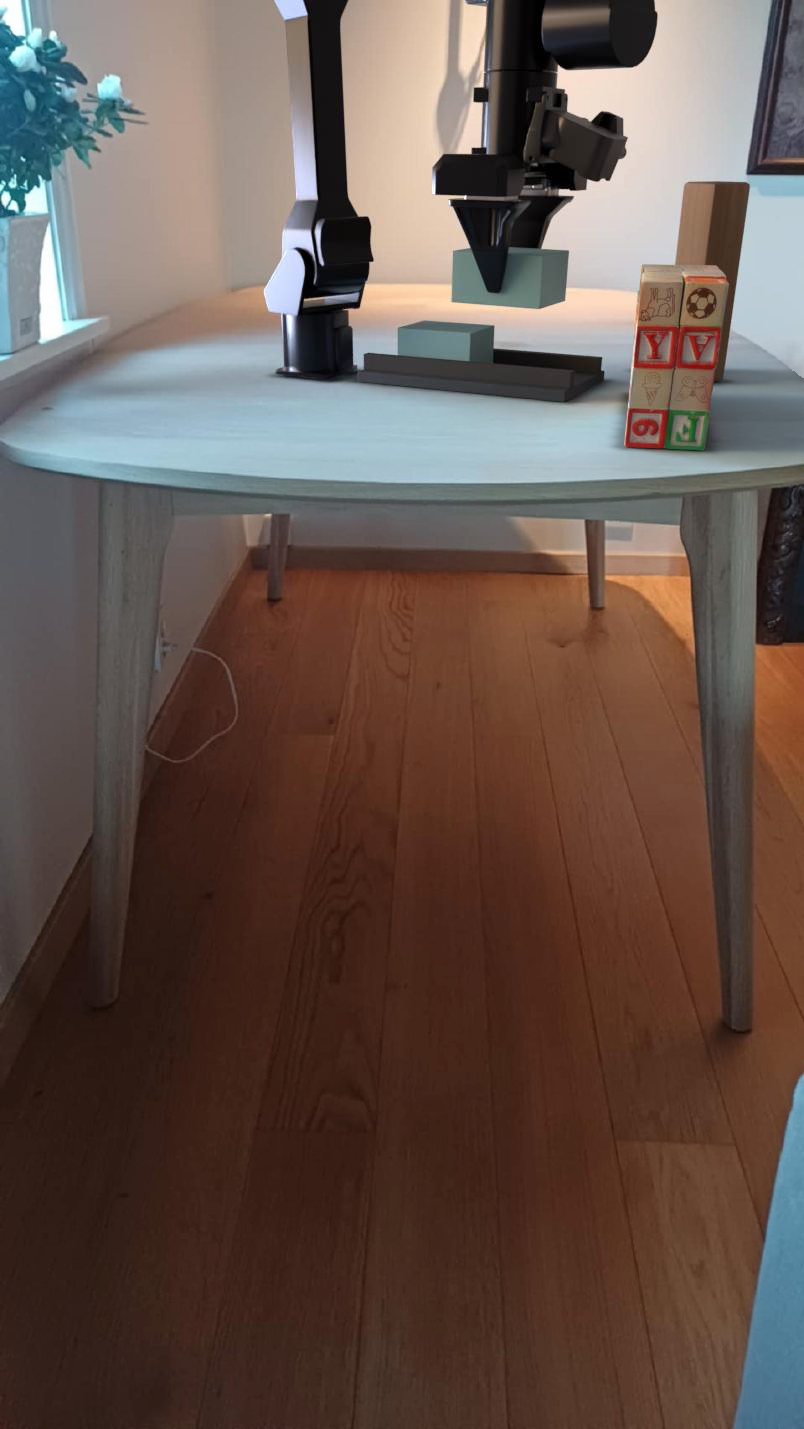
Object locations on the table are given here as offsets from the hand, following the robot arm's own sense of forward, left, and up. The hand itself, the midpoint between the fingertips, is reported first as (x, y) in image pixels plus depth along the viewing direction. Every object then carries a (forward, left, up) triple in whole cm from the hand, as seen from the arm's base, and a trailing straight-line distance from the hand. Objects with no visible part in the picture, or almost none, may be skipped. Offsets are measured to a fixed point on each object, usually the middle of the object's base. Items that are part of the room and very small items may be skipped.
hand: (508, 289), depth 89 cm
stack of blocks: (+14, +3, -10) cm, 17 cm away
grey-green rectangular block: (0, 0, -1) cm, 1 cm away
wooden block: (+10, +24, -10) cm, 28 cm away
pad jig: (-7, +12, -10) cm, 18 cm away
